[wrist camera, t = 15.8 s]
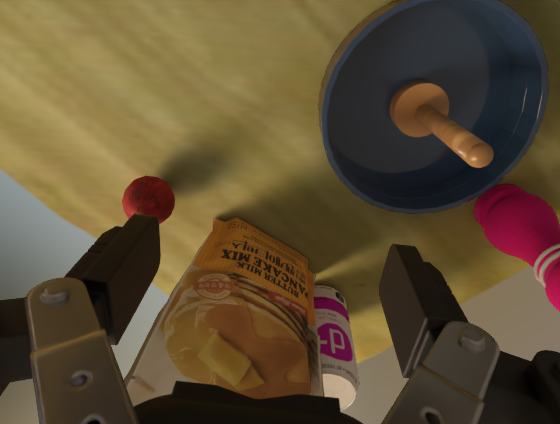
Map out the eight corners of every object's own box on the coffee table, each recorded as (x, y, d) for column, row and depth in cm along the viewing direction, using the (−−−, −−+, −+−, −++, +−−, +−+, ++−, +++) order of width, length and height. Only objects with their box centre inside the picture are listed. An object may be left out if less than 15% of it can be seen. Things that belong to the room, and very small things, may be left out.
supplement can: (301, 275, 53) (302, 362, 40) (354, 291, 54) (373, 380, 41) (283, 316, 57) (279, 407, 44) (334, 329, 58) (345, 423, 44)
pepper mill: (466, 233, 49) (562, 356, 31) (473, 182, 45) (586, 288, 28) (524, 228, 48) (656, 352, 31) (535, 177, 45) (691, 282, 27)
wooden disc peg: (396, 76, 40) (458, 114, 24) (448, 82, 40) (542, 124, 24) (383, 128, 42) (432, 191, 27) (432, 134, 42) (508, 200, 27)
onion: (134, 165, 46) (105, 192, 39) (180, 169, 46) (159, 196, 39) (139, 206, 49) (112, 238, 42) (182, 210, 49) (163, 243, 42)
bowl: (336, -19, 36) (343, -24, 31) (549, 8, 37) (592, 7, 31) (305, 180, 46) (307, 202, 41) (474, 200, 47) (496, 224, 41)
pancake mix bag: (305, 298, 55) (311, 530, 30) (190, 236, 51) (89, 446, 26) (332, 268, 52) (364, 495, 28) (214, 199, 48) (125, 395, 23)
